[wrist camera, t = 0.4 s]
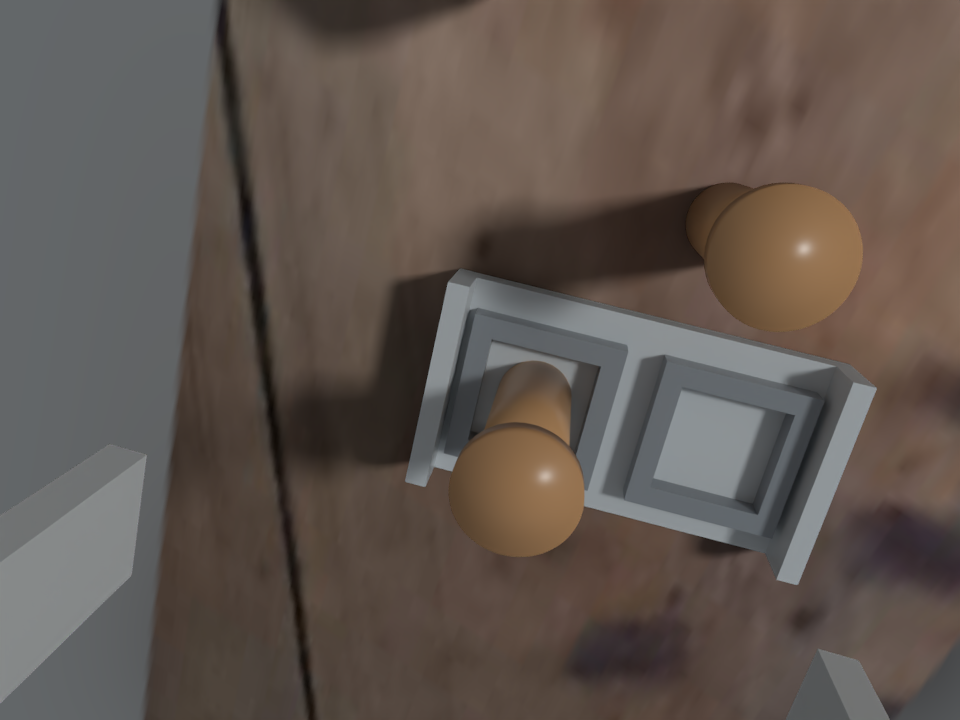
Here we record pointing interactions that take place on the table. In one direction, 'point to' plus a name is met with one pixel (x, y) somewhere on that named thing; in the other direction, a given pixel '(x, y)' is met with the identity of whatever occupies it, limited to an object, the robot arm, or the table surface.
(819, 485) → the tray
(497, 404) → the rounded wooden peg
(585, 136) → the table surface
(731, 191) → the tan ball-headed post
